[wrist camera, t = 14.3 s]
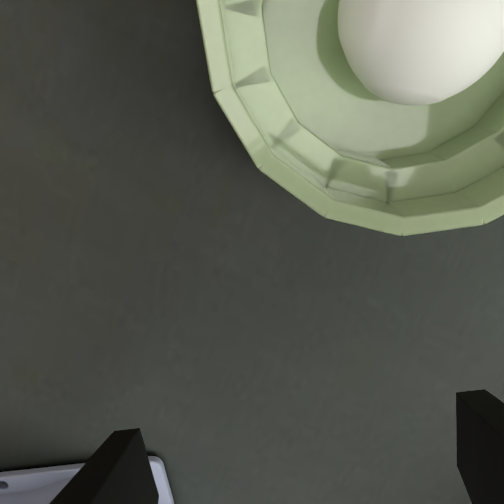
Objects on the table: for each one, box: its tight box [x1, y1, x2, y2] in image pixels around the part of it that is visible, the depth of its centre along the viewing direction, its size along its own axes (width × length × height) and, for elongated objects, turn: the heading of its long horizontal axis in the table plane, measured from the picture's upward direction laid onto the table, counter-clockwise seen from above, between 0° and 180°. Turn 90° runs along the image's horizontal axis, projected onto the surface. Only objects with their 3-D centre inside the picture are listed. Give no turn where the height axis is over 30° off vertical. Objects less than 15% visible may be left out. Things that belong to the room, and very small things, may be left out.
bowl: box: [196, 0, 504, 236], centre depth 14 cm, size 12×12×4 cm
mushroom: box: [338, 0, 504, 105], centre depth 13 cm, size 5×5×5 cm
